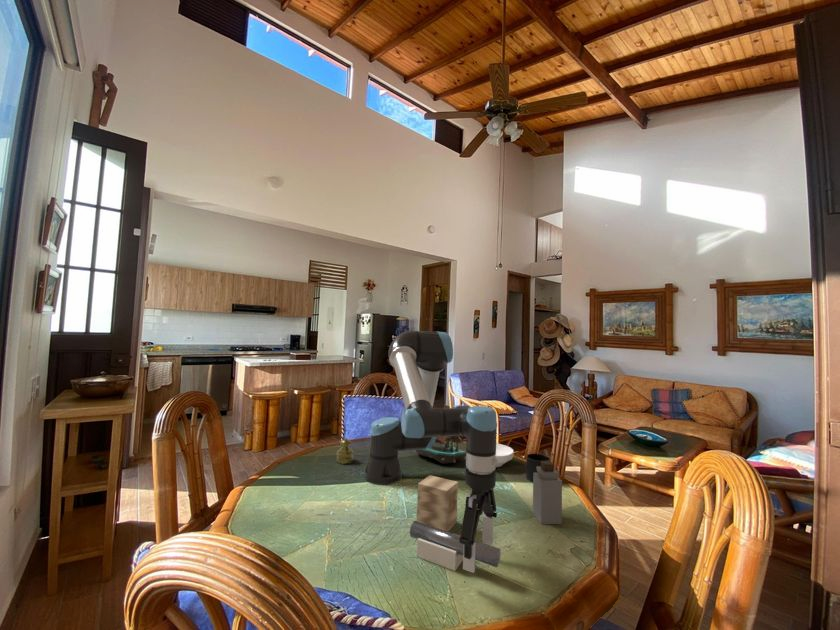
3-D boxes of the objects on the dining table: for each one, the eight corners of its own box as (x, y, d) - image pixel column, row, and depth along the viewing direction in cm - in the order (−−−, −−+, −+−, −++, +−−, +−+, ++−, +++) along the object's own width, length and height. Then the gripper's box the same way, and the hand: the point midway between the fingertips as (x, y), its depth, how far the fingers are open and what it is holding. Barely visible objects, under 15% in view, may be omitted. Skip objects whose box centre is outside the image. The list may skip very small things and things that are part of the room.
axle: (410, 540, 98) (409, 527, 98) (417, 530, 102) (416, 517, 101) (495, 571, 86) (495, 556, 86) (500, 558, 90) (500, 544, 89)
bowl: (488, 475, 152) (488, 458, 153) (462, 460, 170) (462, 445, 170) (522, 468, 161) (523, 452, 162) (494, 455, 179) (495, 440, 179)
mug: (547, 488, 141) (548, 464, 142) (521, 478, 151) (522, 456, 151) (560, 482, 148) (560, 459, 148) (534, 473, 157) (534, 452, 157)
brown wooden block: (416, 524, 111) (417, 483, 112) (428, 513, 118) (429, 475, 119) (445, 534, 106) (447, 491, 107) (456, 522, 113) (457, 482, 114)
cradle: (416, 556, 95) (417, 539, 95) (428, 544, 101) (429, 528, 101) (454, 571, 90) (455, 552, 90) (465, 557, 95) (465, 540, 96)
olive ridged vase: (333, 462, 162) (334, 440, 162) (342, 457, 169) (343, 436, 169) (347, 465, 159) (347, 442, 159) (356, 460, 166) (356, 438, 166)
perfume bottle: (532, 513, 120) (533, 459, 121) (552, 513, 121) (552, 459, 122) (541, 524, 114) (541, 466, 115) (561, 523, 114) (562, 466, 115)
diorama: (449, 469, 157) (452, 424, 159) (406, 456, 173) (410, 415, 175) (471, 462, 171) (474, 421, 174) (430, 451, 187) (433, 413, 190)
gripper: (477, 490, 79) (475, 590, 78) (508, 458, 100) (507, 536, 99) (446, 482, 82) (444, 578, 81) (483, 453, 104) (481, 528, 103)
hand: (478, 555), depth 90 cm, fingers open, 13 cm apart
